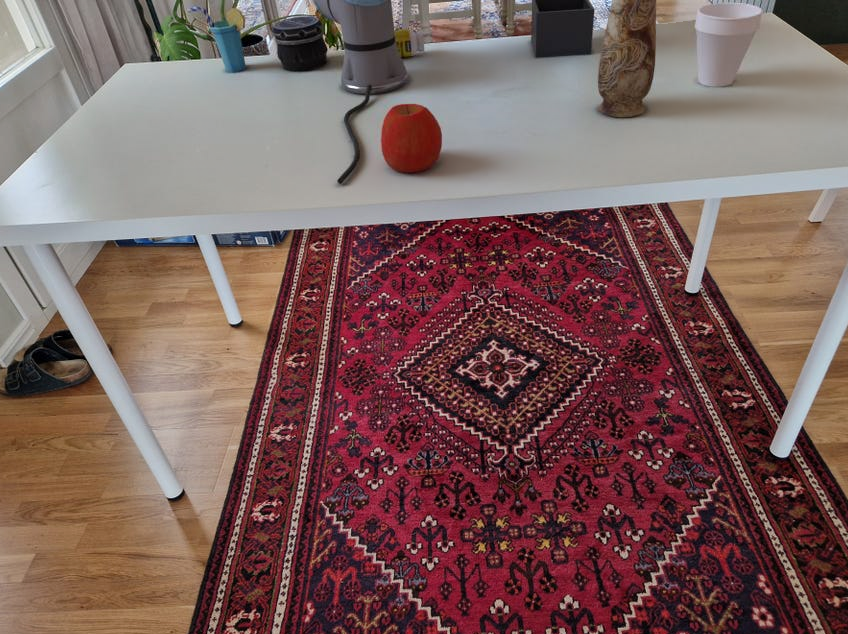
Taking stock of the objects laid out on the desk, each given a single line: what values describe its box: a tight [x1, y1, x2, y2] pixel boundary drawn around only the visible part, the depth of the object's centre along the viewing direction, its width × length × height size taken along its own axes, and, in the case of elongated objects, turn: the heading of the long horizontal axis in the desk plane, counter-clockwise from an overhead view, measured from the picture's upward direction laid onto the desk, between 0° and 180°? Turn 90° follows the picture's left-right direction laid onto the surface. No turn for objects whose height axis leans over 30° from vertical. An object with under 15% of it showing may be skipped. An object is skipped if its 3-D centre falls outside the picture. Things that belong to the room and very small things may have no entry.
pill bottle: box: [394, 28, 425, 58], centre depth 161 cm, size 6×6×11 cm
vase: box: [597, 0, 657, 118], centre depth 118 cm, size 10×11×30 cm
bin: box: [530, 0, 596, 58], centre depth 157 cm, size 13×13×10 cm
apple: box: [380, 103, 443, 173], centre depth 112 cm, size 11×11×11 cm
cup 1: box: [187, 5, 247, 73], centre depth 160 cm, size 14×8×15 cm, turn 87°
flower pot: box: [694, 2, 764, 88], centre depth 131 cm, size 12×12×14 cm
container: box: [271, 15, 329, 72], centre depth 161 cm, size 13×13×10 cm
